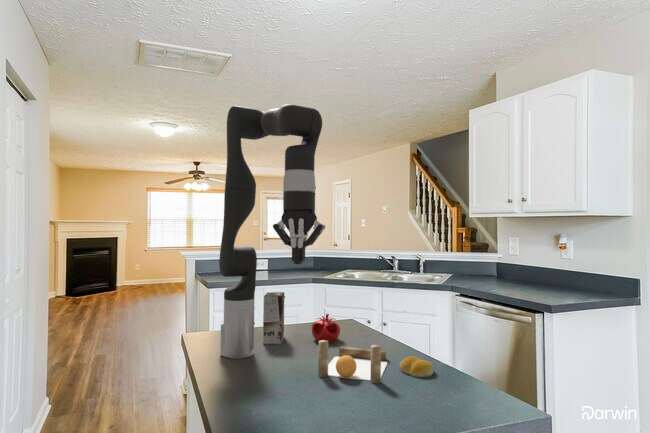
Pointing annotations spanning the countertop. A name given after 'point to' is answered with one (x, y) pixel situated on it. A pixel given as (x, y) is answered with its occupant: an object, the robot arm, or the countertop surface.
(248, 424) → the countertop surface
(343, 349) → the stopper rail
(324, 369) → the post
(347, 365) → the ball
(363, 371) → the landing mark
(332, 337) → the pomegranate
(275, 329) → the coffee box
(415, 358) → the bread roll
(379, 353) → the post
